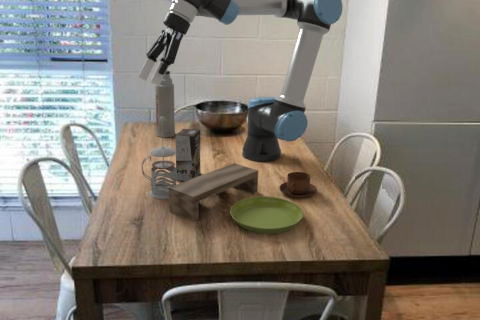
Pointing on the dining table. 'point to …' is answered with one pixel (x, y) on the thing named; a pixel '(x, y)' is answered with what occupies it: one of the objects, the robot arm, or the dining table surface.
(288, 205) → the green plate
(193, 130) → the coffee box
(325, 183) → the dining table surface
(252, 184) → the stand
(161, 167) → the french press
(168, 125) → the thermos bottle
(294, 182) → the cup and saucer
